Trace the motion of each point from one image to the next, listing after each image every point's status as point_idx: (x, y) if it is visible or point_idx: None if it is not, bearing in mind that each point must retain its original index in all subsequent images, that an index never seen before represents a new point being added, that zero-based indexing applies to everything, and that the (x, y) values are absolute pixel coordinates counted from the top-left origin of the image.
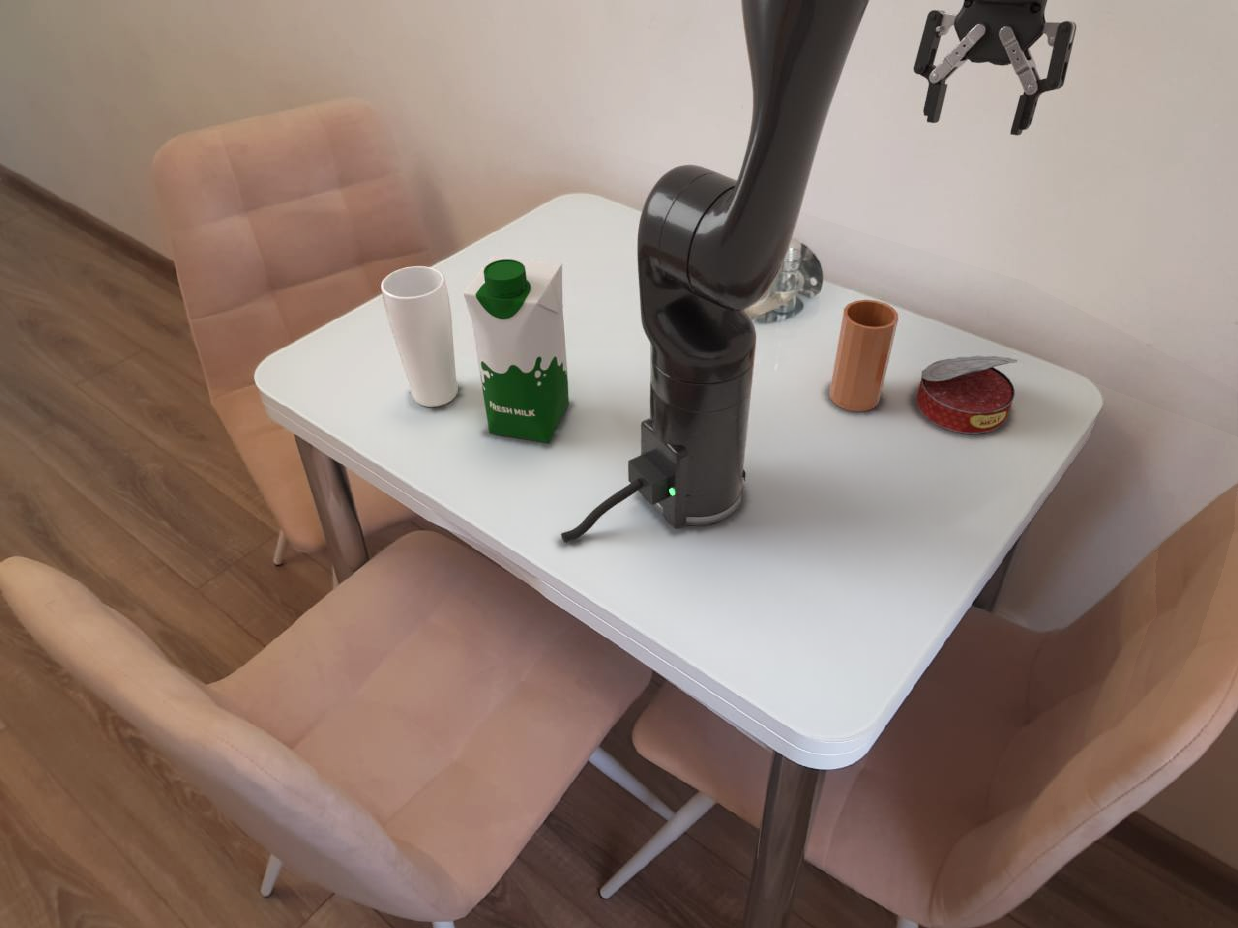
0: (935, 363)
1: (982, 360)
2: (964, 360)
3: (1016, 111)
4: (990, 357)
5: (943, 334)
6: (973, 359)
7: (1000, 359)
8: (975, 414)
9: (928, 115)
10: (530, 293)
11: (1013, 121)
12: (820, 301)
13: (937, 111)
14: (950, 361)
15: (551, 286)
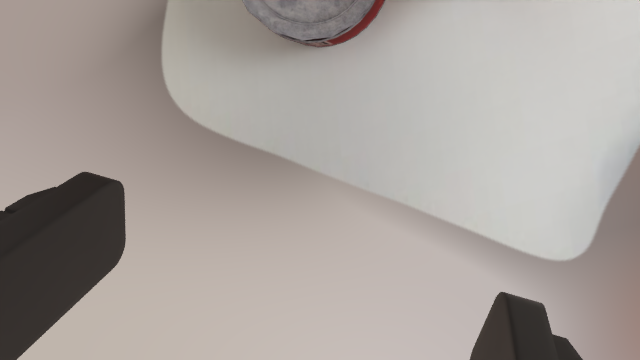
0: (367, 7)
1: (290, 10)
2: (321, 21)
3: (42, 227)
4: (280, 27)
5: (367, 169)
6: (306, 22)
7: (261, 5)
8: None
9: (543, 315)
10: None
11: (80, 199)
12: (599, 212)
13: (494, 355)
14: (343, 16)
15: None
